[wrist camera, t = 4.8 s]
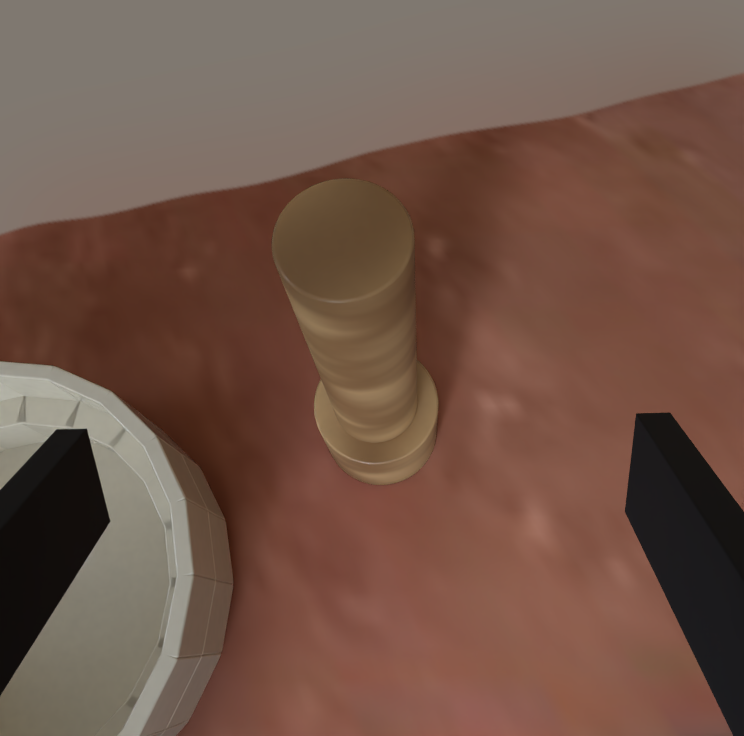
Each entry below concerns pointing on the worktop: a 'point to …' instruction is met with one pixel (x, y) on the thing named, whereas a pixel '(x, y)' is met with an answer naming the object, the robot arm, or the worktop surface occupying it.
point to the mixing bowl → (119, 572)
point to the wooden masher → (360, 325)
